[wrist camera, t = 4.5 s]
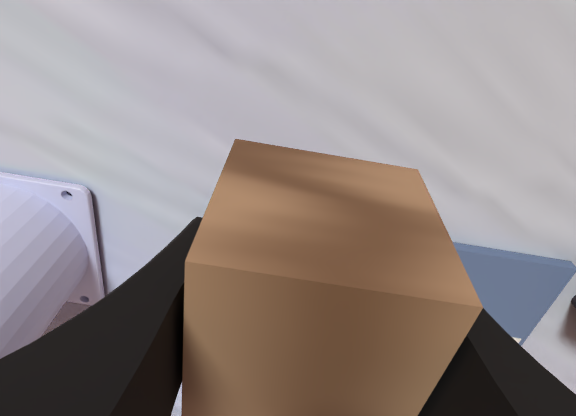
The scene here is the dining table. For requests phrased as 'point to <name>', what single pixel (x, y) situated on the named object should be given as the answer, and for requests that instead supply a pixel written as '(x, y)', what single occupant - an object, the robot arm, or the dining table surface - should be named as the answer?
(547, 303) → the board
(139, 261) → the dining table surface
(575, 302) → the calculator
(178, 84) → the dining table surface
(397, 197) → the walnut block
